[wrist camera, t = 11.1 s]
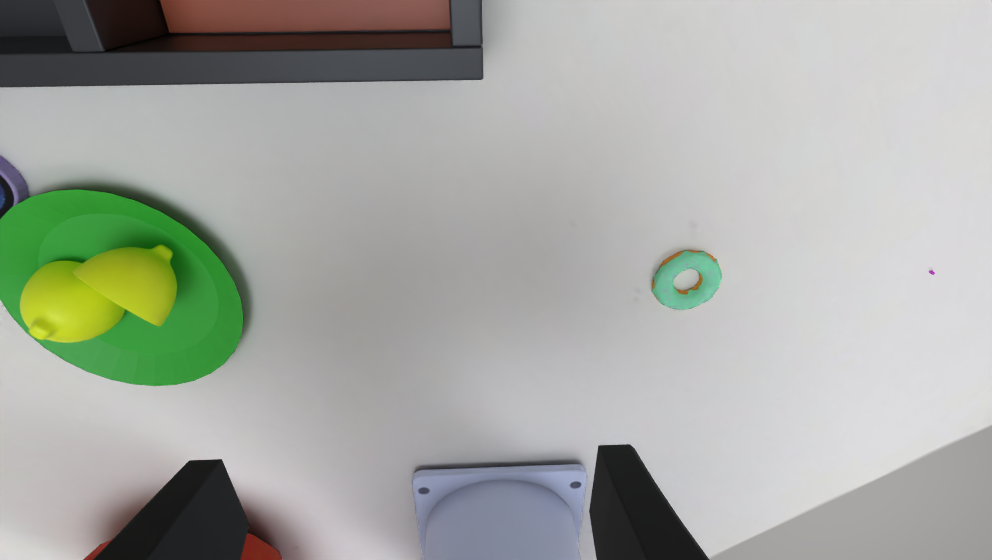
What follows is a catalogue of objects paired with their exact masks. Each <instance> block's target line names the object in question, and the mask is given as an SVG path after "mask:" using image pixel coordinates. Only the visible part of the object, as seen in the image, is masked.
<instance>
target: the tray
mask: <svg viewBox="0 0 992 560" xmlns="http://www.w3.org/2000/svg"><path fill="white" fill-rule="evenodd" d="M482 44H483V34H482V0H0V87H56V86H120V85H183V84H246V83H309V82H373V81H436V80H482V79H483V47H482Z"/></svg>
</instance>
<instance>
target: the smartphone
mask: <svg viewBox="0 0 992 560" xmlns="http://www.w3.org/2000/svg"><path fill="white" fill-rule="evenodd" d="M28 194H29V192H28V187H27V184H26V182H25V180H24V179H23V177H22V176H21V174H20V173H19V172H18V171H17V170H16V169H15V167H13V166H12V165H11V164H10V163H9V162H8V161H7V160H5V159H4V158H3V157H2V156H0V219H1V218H2V217H3V216H4V215H5V214H6V213H7V212H8V211H9V210H10V209H11V208H12V207H13V206H15V205H17V204H19V203H21V202H22V201H24V200H26V199H28Z"/></svg>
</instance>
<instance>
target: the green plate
mask: <svg viewBox="0 0 992 560" xmlns="http://www.w3.org/2000/svg"><path fill="white" fill-rule="evenodd" d="M0 300H1V301H2V303H3V304H4V306H5V307H6V309H7V310H8V312H9V314H10V315H11V316H12V317H13V318H14V320H15V321H16V322H17V323H18V324H19V325H20V326H21V327H22V328H23V329H24V330H25V332H26V333H28V334H29V335H30V336H31V337H32V338H34V339H35V340H36V341H37V342H38V343H40V344H41V345H42V346H43V347H44V348H46V349H47V350H49V351H51V352H52V353H54V354H55V355H57V356H58V357H60V358H62V359H63V360H65V361H66V362H69V363H71V364H73V365H75V366H77V367H79V368H81V369H83V370H85V371H87V372H90V373H93V374H96V375H99V376H102V377H105V378H108V379H111V380H116V381H120V382H125V383H130V384H137V385H149V386H162V385H176V384H181V383H185V382H190V381H194V380H196V379H199V378H201V377H203V376H206V375H208V374H210V373H212V372H213V371H215V370H216V369H217V368H219V367H220V366H222V365H223V364H224V363H225V362H226V361H227V360H228V358H229V357H230V356H231V355H232V354H233V352H234V351H235V349H236V347H237V344H238V342H239V340H240V338H241V333H242V326H243V312H242V304H241V300H240V297H239V294H238V291H237V289H236V286H235V283H234V281H233V280H232V278H231V276H230V275H229V273H228V271H227V270H226V268H225V266H224V265H223V263H222V262H221V261H220V260H219V259H218V257H217V256H216V255H215V254H214V253H213V252H212V250H211V249H210V248H209V247H208V246H207V245H206V244H205V243H204V242H203V241H202V240H200V239H199V238H198V237H197V236H196V235H194V234H193V233H192V232H191V231H190V230H188V229H187V228H186V227H185V226H183V225H181V224H180V223H178V222H177V221H175V220H173V219H172V218H170V217H168V216H167V215H165V214H164V213H162V212H160V211H158V210H155V209H153V208H151V207H149V206H146V205H144V204H142V203H140V202H137V201H135V200H132V199H128V198H124V197H121V196H117V195H114V194H110V193H106V192H97V191H89V190H80V189H77V190H60V191H51V192H47V193H43V194H40V195H36V196H32V197H29V198H28V199H26V200H24V201H22V202H21V203H19V204H17V205H15V206H13V207H12V208H11V209H10V210H9V211H8V212H7V213H6V214H5V215H4V216H3V217H2V218H1V219H0Z"/></svg>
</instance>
